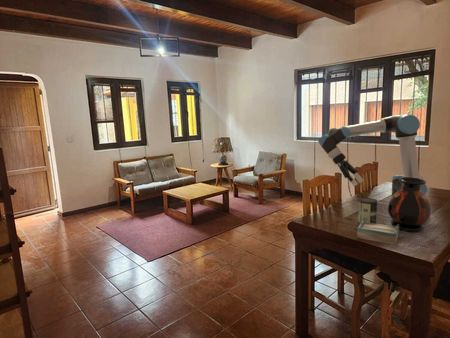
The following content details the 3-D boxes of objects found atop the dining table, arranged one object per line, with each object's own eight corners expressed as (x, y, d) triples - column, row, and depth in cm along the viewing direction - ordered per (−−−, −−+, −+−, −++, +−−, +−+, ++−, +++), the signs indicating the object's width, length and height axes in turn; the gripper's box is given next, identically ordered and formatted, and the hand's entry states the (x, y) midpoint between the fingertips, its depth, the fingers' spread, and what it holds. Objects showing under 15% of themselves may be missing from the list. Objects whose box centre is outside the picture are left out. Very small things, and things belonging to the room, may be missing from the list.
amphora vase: (388, 216, 186) (393, 173, 180) (429, 224, 174) (436, 178, 168) (382, 229, 169) (387, 181, 163) (428, 238, 157) (435, 187, 151)
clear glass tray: (363, 228, 173) (363, 219, 172) (398, 234, 163) (399, 224, 162) (356, 237, 160) (357, 227, 160) (395, 244, 150) (395, 234, 149)
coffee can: (373, 219, 187) (374, 197, 185) (378, 225, 177) (379, 202, 175) (356, 219, 189) (356, 197, 187) (360, 224, 179) (360, 202, 177)
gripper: (338, 158, 200) (359, 184, 194) (325, 161, 181) (348, 190, 174) (347, 151, 196) (368, 177, 190) (335, 153, 177) (358, 183, 170)
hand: (359, 183), depth 182 cm, fingers open, 13 cm apart
